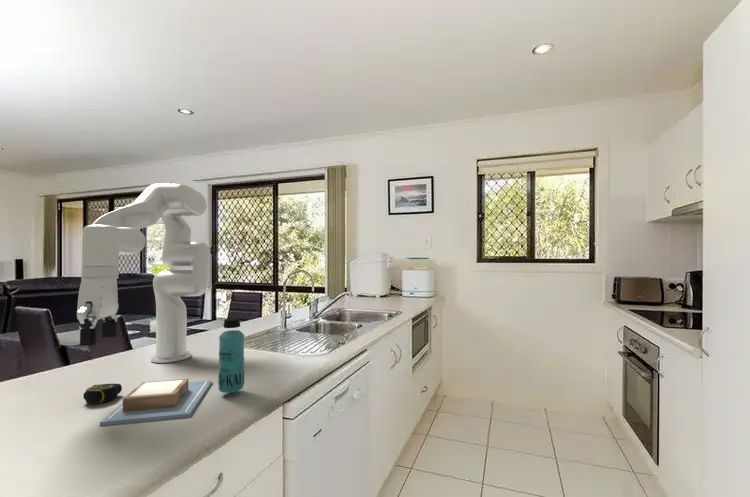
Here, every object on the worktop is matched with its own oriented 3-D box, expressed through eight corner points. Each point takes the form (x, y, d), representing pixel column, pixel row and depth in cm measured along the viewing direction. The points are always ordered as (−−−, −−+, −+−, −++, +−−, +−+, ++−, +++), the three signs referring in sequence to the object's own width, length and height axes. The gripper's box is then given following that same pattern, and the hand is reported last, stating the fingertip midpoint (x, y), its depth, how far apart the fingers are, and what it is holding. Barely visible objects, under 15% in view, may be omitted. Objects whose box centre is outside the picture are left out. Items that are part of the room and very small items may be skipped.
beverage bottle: (222, 389, 97) (223, 316, 98) (247, 388, 98) (247, 316, 98) (214, 399, 91) (214, 321, 91) (240, 398, 92) (240, 320, 92)
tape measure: (123, 395, 95) (123, 380, 95) (108, 405, 88) (109, 390, 88) (94, 397, 94) (94, 382, 94) (77, 408, 87) (77, 392, 87)
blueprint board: (142, 388, 99) (142, 374, 99) (212, 382, 103) (212, 369, 103) (99, 425, 77) (100, 407, 77) (189, 416, 81) (189, 399, 81)
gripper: (101, 272, 98) (100, 335, 98) (61, 274, 82) (59, 350, 81) (132, 272, 100) (131, 333, 99) (99, 274, 83) (97, 348, 83)
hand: (99, 340), depth 90 cm, fingers open, 9 cm apart
